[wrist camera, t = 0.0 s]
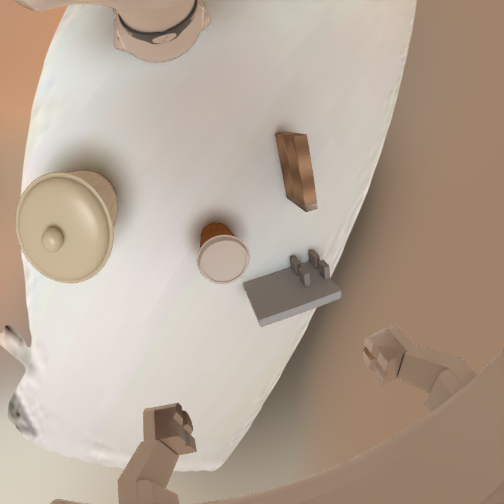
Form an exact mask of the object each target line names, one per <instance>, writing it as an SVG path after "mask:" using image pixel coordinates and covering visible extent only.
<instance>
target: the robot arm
mask: <svg viewBox="0 0 504 504" xmlns="http://www.w3.org/2000/svg"><path fill="white" fill-rule="evenodd" d="M15 1H16V2H17V3H18V4H20V5H21V6H23V7H25V8H27V9H30V10H35V11H45V10H48V9H52V8H55V7H59V6H65V5H72V4H95V5H103V6H108V7H112V8H113V11H114V13H115V14H116V19H115V32H114V46H115V48H116V49H118V50H122V51H128V52H130V53H131V54H133V55H134V56H135V57H137V58H139V59H141V60H144V61H148V62H164V61H168V60H172V59H174V58H177V57H179V56H180V55H182V54H184V53H185V52H186V51H187V50H189V49H190V48H191V46H192V45H193V44H194V43H195V41H196V39H197V37H198V35H199V33H200V32H201V31H202V30H203V29H204V28H206V27H207V26H208V25H209V24H210V22H211V18H210V16H209V14H208V12H207V10H206V9H205V7H204V5H203V3H202V1H201V0H15ZM119 39H120V40H119ZM364 344H365V346H366V347H365V349H364V350H363V357H364V361H365V363H366V365H367V366H368V368H369V369H372V370H374V376H375V377H376V379H377V380H378V382H379V383H380V384H381V386H382V385H384V384H386V383H388V382H390V381H391V380H393V379H395V378H397V379H399V380H401V381H403V382H406V383H408V384H410V385H412V386H414V387H416V388H419V389H421V390H423V391H425V392H427V393H429V395H428V397H427V399H426V400H425V403H424V404H425V406H426V408H427V409H428V410H429V412H430V413H429V414H427V415H426V416H424V417H423V418H422V419H420V420H419V421H417V422H416V423H414V424H412V425H411V426H409V427H408V428H406V429H405V430H403V431H402V432H400V433H398V434H396V435H395V436H393V437H392V438H390V439H388V440H386V441H384V442H383V443H381V444H379V445H377V446H375V447H373V448H372V449H370V450H368V451H366V452H364V453H362V454H360V455H358V456H356V457H353V458H351V459H349V460H347V461H345V462H343V463H340V464H338V465H336V466H334V467H331V468H329V469H326V470H324V471H321V472H319V473H316V474H314V475H311V476H309V477H305V478H303V479H300V480H297V481H294V482H291V483H288V484H284V485H281V486H278V487H275V488H271V489H267V490H263V491H260V492H256V493H252V494H247V495H243V496H238V497H233V498H228V499H223V500H216V501H211V502H203V503H195V504H504V349H503V350H502V351H501V352H500V353H499V354H498V355H497V356H496V357H495V358H494V359H493V360H492V361H491V362H490V363H489V364H488V365H487V366H486V367H485V368H484V369H483V370H482V371H481V372H479V373H478V374H476V373H475V372H474V371H473V370H472V369H471V368H470V367H469V366H468V365H467V364H466V362H465V361H464V360H462V358H461V357H458V356H455V355H451V354H448V353H444V352H441V351H438V350H434V349H431V348H428V347H424V346H421V345H417V346H416V345H415V344H414V343H413V342H412V341H411V340H410V339H409V338H408V337H407V336H406V335H405V333H404V332H403V331H402V330H401V329H400V328H399V327H398V326H397V325H395V324H392V325H390V326H388V327H387V328H385V329H382V330H380V331H378V332H376V333H374V334H372V335H370V336H369V337H367V338H365V340H364ZM143 429H144V442H141V443H140V445H139V446H138V448H137V449H136V451H135V453H134V454H133V456H132V458H131V459H130V461H129V463H128V464H127V466H126V468H125V469H124V471H123V473H122V474H121V476H120V478H119V479H118V495H119V504H179V499H178V495H177V494H176V493H174V492H172V491H170V490H168V489H166V486H167V484H168V481H169V479H170V476H171V474H172V472H173V469H174V467H175V465H176V462H177V460H178V457H179V456H178V455H182V454H188V453H193V452H197V451H196V445H195V439H194V438H193V437H192V436H191V433H192V431H193V426H192V422H191V419H190V417H189V415H188V413H187V412H186V411H183V410H182V406H181V405H180V404H179V403H174V404H169V405H164V406H158V407H152V408H146V409H144V412H143ZM51 504H88V503H80V502H73V501H68V500H61V499H56V500H54V501H53V502H52V503H51Z"/></svg>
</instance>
